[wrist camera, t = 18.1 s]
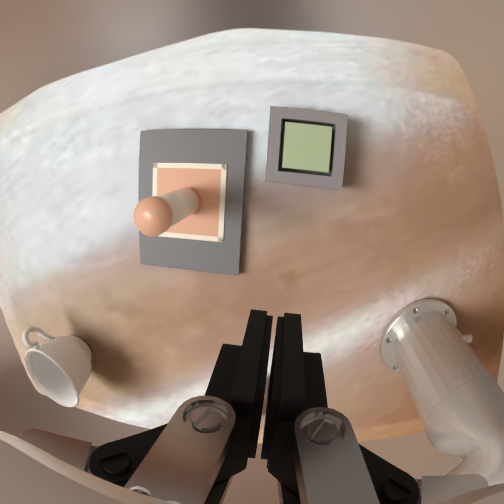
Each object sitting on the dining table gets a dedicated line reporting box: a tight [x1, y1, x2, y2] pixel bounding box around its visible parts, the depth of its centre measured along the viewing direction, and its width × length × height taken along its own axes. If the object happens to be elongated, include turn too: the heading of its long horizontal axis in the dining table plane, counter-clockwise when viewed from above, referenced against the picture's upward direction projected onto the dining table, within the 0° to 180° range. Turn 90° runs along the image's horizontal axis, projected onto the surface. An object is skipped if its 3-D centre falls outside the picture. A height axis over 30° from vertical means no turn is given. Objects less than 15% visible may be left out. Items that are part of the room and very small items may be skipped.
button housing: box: [265, 106, 348, 190], centre depth 30 cm, size 8×8×3 cm
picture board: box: [139, 129, 248, 275], centre depth 34 cm, size 13×17×1 cm
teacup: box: [22, 326, 92, 407], centre depth 39 cm, size 12×15×10 cm
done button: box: [282, 122, 332, 173], centre depth 29 cm, size 5×5×2 cm
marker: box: [134, 188, 201, 237], centre depth 29 cm, size 3×3×10 cm
